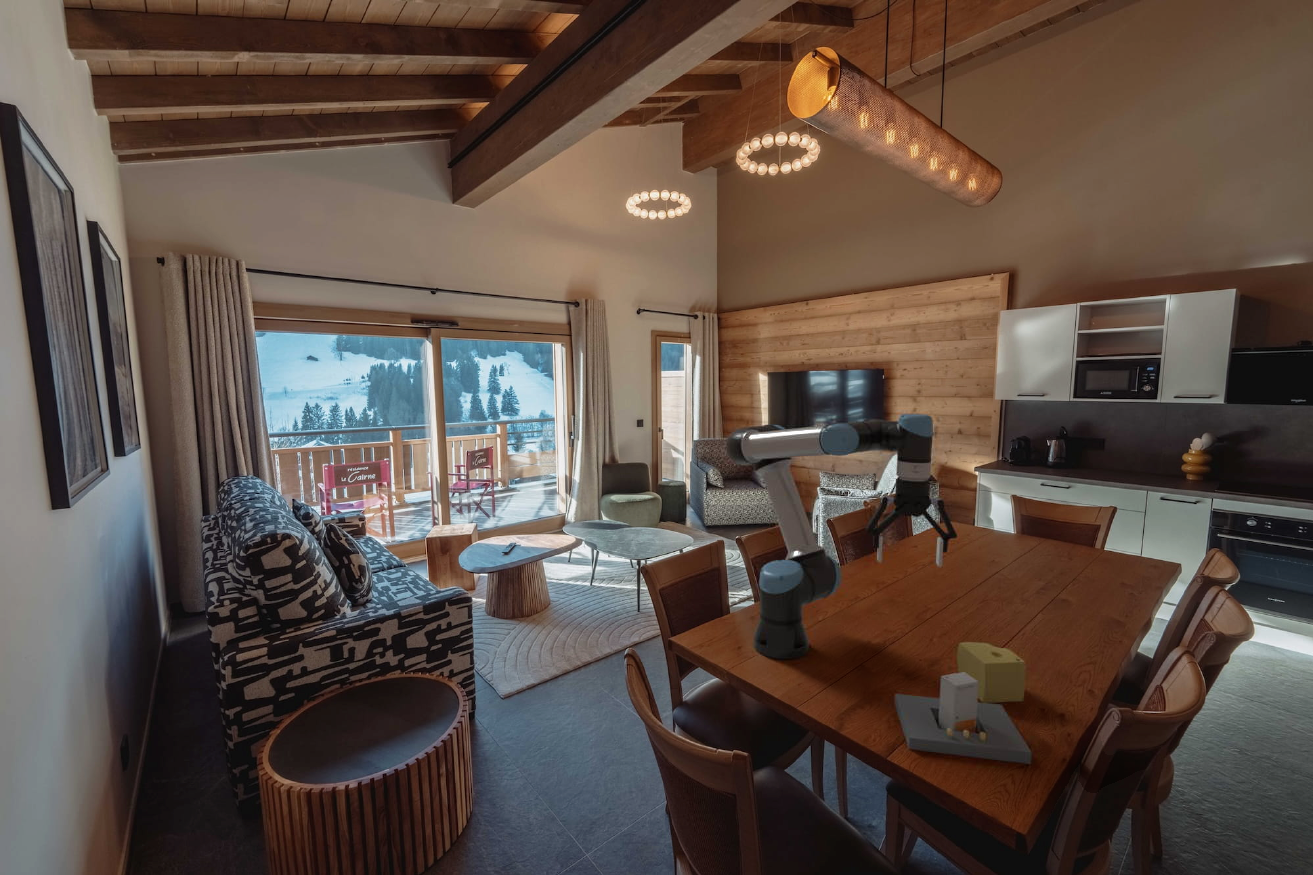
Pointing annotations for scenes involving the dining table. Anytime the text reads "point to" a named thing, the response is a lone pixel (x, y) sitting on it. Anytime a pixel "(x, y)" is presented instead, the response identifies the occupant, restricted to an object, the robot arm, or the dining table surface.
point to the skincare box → (958, 702)
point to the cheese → (993, 671)
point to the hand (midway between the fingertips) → (908, 562)
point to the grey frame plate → (990, 743)
